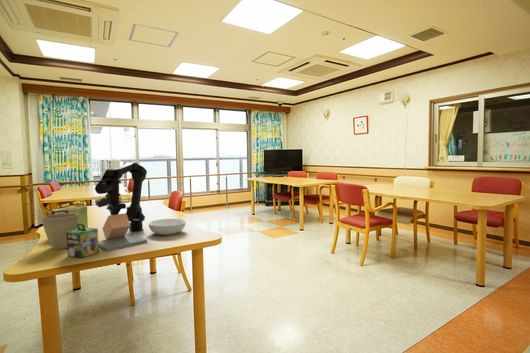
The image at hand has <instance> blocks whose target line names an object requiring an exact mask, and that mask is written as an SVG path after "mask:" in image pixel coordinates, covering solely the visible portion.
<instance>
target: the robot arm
mask: <svg viewBox="0 0 530 353" xmlns="http://www.w3.org/2000/svg"><path fill="white" fill-rule="evenodd" d="M127 173H129V174H131V179H132V180H133V185H132V194H131V201H130V205H129V206H127V204H125V203H124V202H121V200H120V196H121V193H120V184H122V181H121V180H120V179H121V178H122V177H124V176H123V175H124V174H127ZM147 174H148V171H147V169H146V168H145V167H144V166H142V165H140V164H139V163H137V162H135V161H133V162H132V161H131V162H130V161H129V162H127V163H125V164H122V165H121V166H118V167H115V168H107V169H105V171H104V173H103V175H102V177H101V180H98V183H97V184H96V185H95V187H94V191H95V192H96V193H97V194H98V195H102V194H105V196H104V197H102V198H100V199H96V200H95V202H94V203H95V205H96V206H97V207H98V208H102V207H105V206H107V207H105V209H106V210H107V211H109V213H110V215H117V214H120V211H121V210H125V209H126V212H125V213H126V214H127V217H128V220H129V223H130V228H129V229H128V230H129V232H132V233H136V232H141V231H144V229H143V222H144V221H145V219H146V216H145V215H144V213H143V209H142V207H141V196H142V188H143V182H144V181H145V179H146V178H147Z"/></svg>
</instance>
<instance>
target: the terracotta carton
mask: <svg viewBox="0 0 530 353" xmlns="http://www.w3.org/2000/svg"><path fill="white" fill-rule="evenodd" d="M129 228H130V221H129V220H128V217H127V214H126V212H125V213H119V214H117V215H111V214H110V215H108V216H107V217H106V220H105V223H104V224H103V227H102V232H103V236H104V240H107V239H112V238H118V237H123V236H127V235H126V234H127V233H128V231H129V230H130V229H129Z"/></svg>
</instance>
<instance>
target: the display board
mask: <svg viewBox="0 0 530 353" xmlns="http://www.w3.org/2000/svg"><path fill="white" fill-rule="evenodd" d="M146 243H148V239H147V238H144V237H142V236H140V235H137V234H135V233H134V234H129V235H125V236H123V237H118V238H112V239H107V240H106V239H102V240H98V244H99V248H101V249H102V250H104V251H106V252H109V251H113V250H118V249H124V248H128V247H133V246H137V245H141V244H142V245H143V244H146Z"/></svg>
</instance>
